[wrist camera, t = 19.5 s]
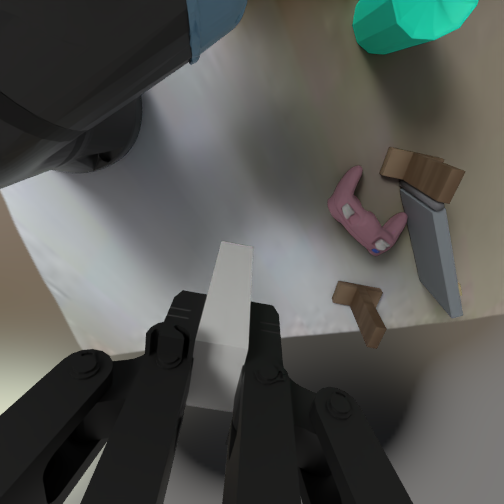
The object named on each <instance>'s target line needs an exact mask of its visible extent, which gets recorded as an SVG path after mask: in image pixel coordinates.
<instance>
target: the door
mask: <svg viewBox="0 0 504 504" xmlns="http://www.w3.org/2000/svg"><path fill="white" fill-rule="evenodd" d="M399 185H400V186H401V187H402V189H400V193H401V198H402V202H403V207H404V211H405V213H406V214H407V216H408V219H407V225H408V229H409V234H410V238H411V242H412V247H413V251H414V256H415V260H416V265H417V269H418V274H419V278H420V281H421V282H422V283H423V285H424V286H425V287H426V288H427V289H428V291H429V292H430V293H431V294H432V295H433V297H434V298H435V299H436V300H437V301H438V303H439V304H440V305H441V306H442V307H443V309H444V310H445V311H446V312H447V313H448V315H449V316H450V317H451V318H456V317H459V316H463V312H462V306H461V300H460V296H461V295H462V292H461V286H460V284H459V283H458V281H457V275H456V269H455V263H454V257H453V251H452V245H451V239H450V233H449V227H448V221H447V215H446V208H444V203H443V202H438V201H436V200H434V199H433V198H431V197H430V196H428V195H426V194H425V193H423V192H422V191H420V190H418V189H417V188H415V187H414V186H412V185H410V184H409V183H407V182H406V181H404V180H403V179H402V180H401V181H400V182H399Z"/></svg>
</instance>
